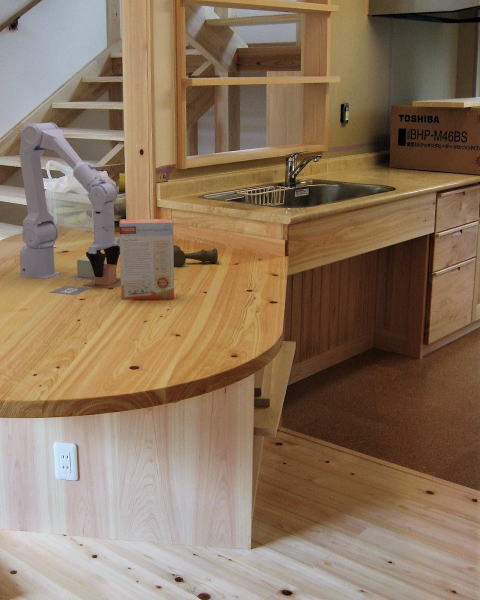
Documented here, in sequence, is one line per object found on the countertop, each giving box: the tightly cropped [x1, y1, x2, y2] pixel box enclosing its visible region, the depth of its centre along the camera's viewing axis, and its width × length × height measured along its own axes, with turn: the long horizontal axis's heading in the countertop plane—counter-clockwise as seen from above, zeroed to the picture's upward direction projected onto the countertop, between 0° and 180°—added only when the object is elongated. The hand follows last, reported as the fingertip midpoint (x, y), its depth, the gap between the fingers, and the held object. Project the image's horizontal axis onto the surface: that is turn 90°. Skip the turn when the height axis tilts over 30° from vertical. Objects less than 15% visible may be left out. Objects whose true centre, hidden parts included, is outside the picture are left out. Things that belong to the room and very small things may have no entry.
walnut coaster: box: [84, 279, 121, 289], centre depth 224 cm, size 9×9×1 cm
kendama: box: [173, 244, 219, 268], centre depth 251 cm, size 6×10×20 cm
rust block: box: [95, 263, 118, 285], centre depth 224 cm, size 4×4×5 cm
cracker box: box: [118, 218, 175, 301], centre depth 209 cm, size 14×6×21 cm, turn 97°
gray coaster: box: [69, 274, 95, 281], centre depth 233 cm, size 8×8×1 cm
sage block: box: [76, 256, 95, 278], centre depth 232 cm, size 4×4×5 cm
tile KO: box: [48, 285, 90, 296], centre depth 216 cm, size 8×8×1 cm
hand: (105, 274), depth 223 cm, fingers open, 7 cm apart
